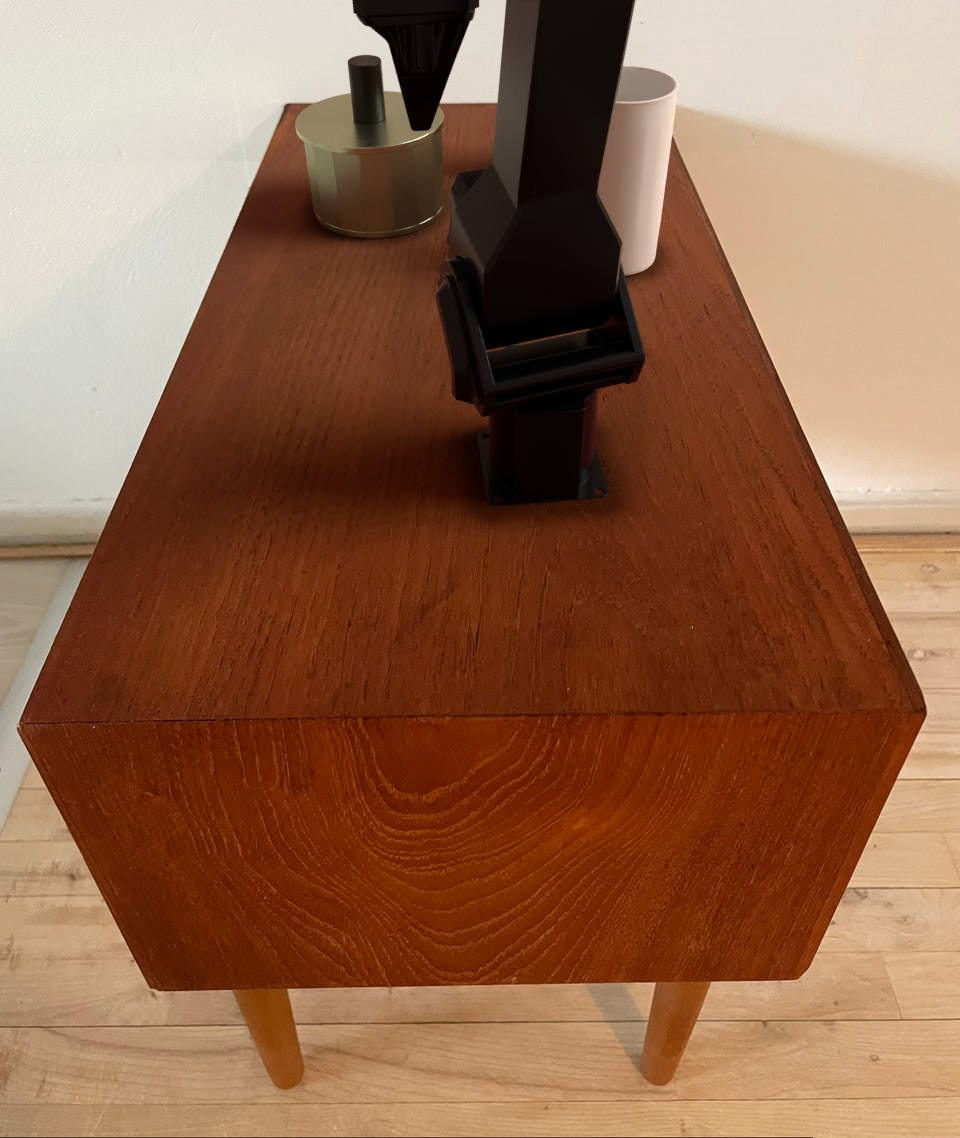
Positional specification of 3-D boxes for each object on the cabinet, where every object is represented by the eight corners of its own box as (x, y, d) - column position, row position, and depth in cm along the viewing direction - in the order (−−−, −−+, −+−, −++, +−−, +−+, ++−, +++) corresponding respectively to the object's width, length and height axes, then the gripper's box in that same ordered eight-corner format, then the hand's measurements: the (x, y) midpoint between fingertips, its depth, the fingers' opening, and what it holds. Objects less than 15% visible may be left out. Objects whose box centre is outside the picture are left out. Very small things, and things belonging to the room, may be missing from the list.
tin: (448, 233, 76) (445, 147, 71) (313, 242, 75) (301, 156, 71) (439, 177, 83) (435, 95, 79) (315, 184, 83) (304, 102, 78)
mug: (656, 235, 75) (675, 65, 67) (662, 280, 70) (682, 102, 62) (522, 234, 76) (523, 64, 67) (518, 278, 71) (519, 102, 63)
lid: (450, 158, 72) (447, 83, 68) (294, 167, 71) (283, 92, 67) (439, 101, 79) (436, 31, 76) (299, 109, 79) (289, 39, 75)
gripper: (244, -247, 56) (287, 55, 67) (214, -192, 42) (274, 173, 53) (444, -254, 56) (454, 46, 67) (477, -202, 43) (482, 161, 54)
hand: (416, 100), depth 61 cm, fingers open, 9 cm apart
